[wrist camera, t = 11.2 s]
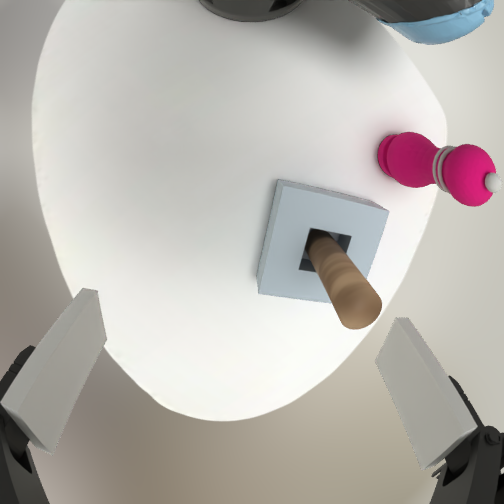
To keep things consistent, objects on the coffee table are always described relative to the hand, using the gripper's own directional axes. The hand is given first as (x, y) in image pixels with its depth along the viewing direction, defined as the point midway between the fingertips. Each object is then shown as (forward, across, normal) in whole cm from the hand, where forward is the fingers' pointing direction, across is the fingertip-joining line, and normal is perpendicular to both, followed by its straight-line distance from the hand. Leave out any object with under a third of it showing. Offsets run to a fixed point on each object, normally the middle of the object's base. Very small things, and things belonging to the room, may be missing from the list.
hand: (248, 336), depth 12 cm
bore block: (+27, +10, -5) cm, 30 cm away
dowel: (+26, +10, -5) cm, 29 cm away
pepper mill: (+28, +20, +8) cm, 35 cm away
